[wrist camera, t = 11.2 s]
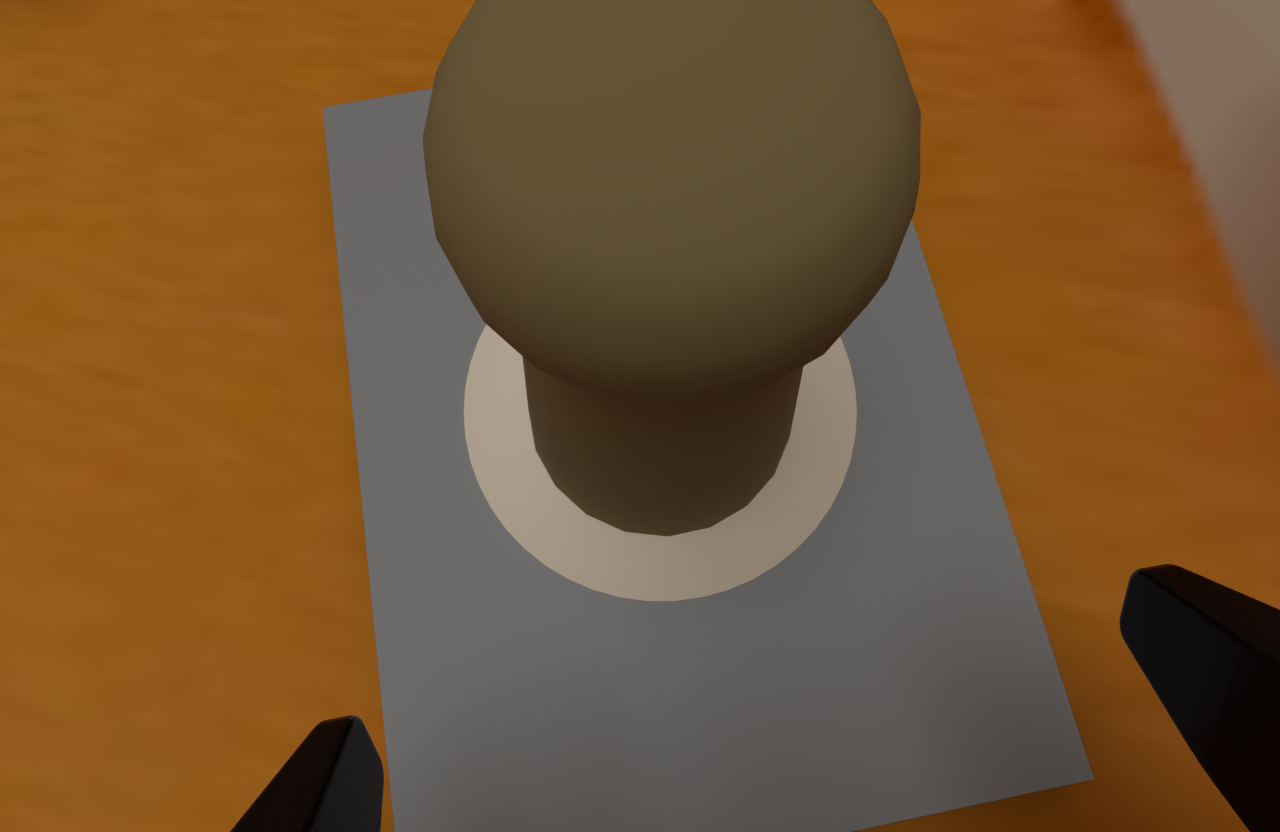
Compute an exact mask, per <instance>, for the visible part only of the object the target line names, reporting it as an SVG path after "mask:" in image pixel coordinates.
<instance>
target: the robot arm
mask: <svg viewBox="0 0 1280 832" xmlns="http://www.w3.org/2000/svg"><path fill="white" fill-rule="evenodd" d="M1120 630H1121V634H1122V636H1123V639H1124V641H1125V643H1126V645H1127V646H1128V648H1129V649H1130V651H1131V653H1132V654H1133V656H1134V658H1135V659H1136V661H1137V663H1138V664H1139V666H1140V667H1141V669H1142V671H1143V672H1144V674H1145V676H1146V677H1147V679H1148V681H1149V682H1150V684H1151V686H1152V687H1153V689H1154V690H1155V692H1156V694H1157V695H1158V697H1159V699H1160V700H1161V702H1162V704H1163V705H1164V707H1165V708H1166V710H1167V712H1168V713H1169V715H1170V717H1171V718H1172V720H1173V722H1174V723H1175V725H1176V727H1177V728H1178V730H1179V731H1180V733H1181V735H1182V736H1183V738H1184V740H1185V741H1186V743H1187V744H1188V746H1189V748H1190V749H1191V751H1192V752H1193V754H1194V755H1195V757H1196V758H1197V760H1198V761H1199V763H1200V764H1201V766H1202V767H1203V769H1204V770H1205V771H1206V773H1207V774H1208V776H1209V777H1210V778H1211V780H1212V781H1213V783H1214V784H1215V785H1216V787H1217V788H1218V789H1219V791H1220V792H1221V793H1222V795H1223V796H1224V797H1225V799H1226V800H1227V802H1228V803H1229V804H1230V806H1231V807H1232V808H1233V810H1234V811H1235V812H1236V814H1237V815H1238V816H1239V818H1240V819H1241V820H1242V822H1243V823H1244V824H1245V826H1246V827H1247V828H1248V830H1249V831H1250V832H1280V610H1279V609H1277V608H1274V607H1272V606H1270V605H1268V604H1265V603H1263V602H1261V601H1258V600H1256V599H1254V598H1251V597H1249V596H1247V595H1244V594H1242V593H1240V592H1237V591H1235V590H1233V589H1230V588H1228V587H1226V586H1223V585H1221V584H1219V583H1217V582H1214V581H1212V580H1210V579H1207V578H1205V577H1203V576H1200V575H1198V574H1196V573H1193V572H1191V571H1189V570H1186V569H1184V568H1182V567H1179V566H1176V565H1172V564H1164V565H1158V566H1152V567H1147V568H1142V569H1138V570H1136V571H1135V572H1134V573H1133V574H1132V575H1131V577H1130V579H1129V583H1128V587H1127V591H1126V595H1125V599H1124V603H1123V607H1122V611H1121V615H1120ZM383 785H384V773H383V766H382V762H381V759H380V757H379V755H378V752H377V750H376V748H375V746H374V744H373V742H372V740H371V738H370V736H369V734H368V732H367V730H366V727H365V725H364V723H363V722H362V720H361V719H360V718H359V717H357V716H353V715H350V716H345V717H340V718H334V719H329V720H325V721H322V722H320V723H319V724H318V725H317V726H316V727H315V728H314V729H313V730H312V731H311V732H310V734H309V735H308V736H307V737H306V739H305V740H304V741H303V742H302V743H301V745H300V746H299V747H298V748H297V750H296V751H295V752H294V753H293V755H292V756H291V757H290V758H289V760H288V761H287V762H286V763H285V764H284V766H283V767H282V768H281V769H280V771H279V772H278V773H277V774H276V776H275V777H274V778H273V779H272V781H271V782H270V783H269V784H268V785H267V787H266V788H265V789H264V790H263V792H262V793H261V794H260V795H259V797H258V798H257V799H256V800H255V802H254V803H253V804H252V805H251V806H250V808H249V809H248V810H247V811H246V813H245V814H244V815H243V816H242V818H241V819H240V820H239V821H238V822H237V824H236V825H235V826H234V827H233V829H232V830H231V831H230V832H380V829H381V814H382V800H383Z"/></svg>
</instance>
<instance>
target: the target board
mask: <svg viewBox="0 0 1280 832" xmlns="http://www.w3.org/2000/svg"><path fill="white" fill-rule="evenodd" d="M432 90H433V88H432V89H426V90H420V91H415V92H409V93H403V94H398V95H392V96H386V97H381V98H375V99H369V100H364V101H358V102H352V103H346V104H341V105H335V106H329V107H324V108H323V116H324V126H325V136H326V146H327V156H328V167H329V177H330V187H331V197H332V207H333V217H334V227H335V237H336V247H337V257H338V267H339V277H340V287H341V297H342V307H343V317H344V327H345V338H346V348H347V358H348V368H349V378H350V388H351V398H352V408H353V418H354V428H355V438H356V448H357V458H358V468H359V478H360V488H361V498H362V509H363V519H364V529H365V539H366V549H367V559H368V569H369V579H370V589H371V599H372V609H373V619H374V629H375V639H376V649H377V659H378V669H379V680H380V690H381V700H382V710H383V720H384V730H385V740H386V750H387V760H388V770H389V780H390V790H391V800H392V810H393V820H394V830H395V832H852V831H857V830H862V829H866V828H871V827H876V826H880V825H885V824H889V823H894V822H899V821H903V820H908V819H913V818H917V817H922V816H926V815H931V814H936V813H940V812H945V811H950V810H954V809H959V808H963V807H968V806H973V805H977V804H982V803H987V802H991V801H996V800H1000V799H1005V798H1010V797H1014V796H1019V795H1023V794H1028V793H1033V792H1037V791H1042V790H1047V789H1051V788H1056V787H1060V786H1065V785H1070V784H1074V783H1079V782H1084V781H1088V780H1093V779H1094V777H1093V773H1092V770H1091V767H1090V764H1089V761H1088V758H1087V755H1086V752H1085V749H1084V746H1083V743H1082V740H1081V737H1080V734H1079V731H1078V727H1077V724H1076V721H1075V718H1074V715H1073V712H1072V709H1071V706H1070V703H1069V700H1068V697H1067V694H1066V691H1065V688H1064V685H1063V681H1062V678H1061V675H1060V672H1059V669H1058V666H1057V663H1056V660H1055V657H1054V654H1053V651H1052V648H1051V645H1050V642H1049V638H1048V635H1047V632H1046V629H1045V626H1044V623H1043V620H1042V617H1041V614H1040V611H1039V608H1038V605H1037V602H1036V599H1035V596H1034V592H1033V589H1032V586H1031V583H1030V580H1029V577H1028V574H1027V571H1026V568H1025V565H1024V562H1023V559H1022V556H1021V553H1020V549H1019V546H1018V543H1017V540H1016V537H1015V534H1014V531H1013V528H1012V525H1011V522H1010V519H1009V516H1008V513H1007V510H1006V507H1005V503H1004V500H1003V497H1002V494H1001V491H1000V488H999V485H998V482H997V479H996V476H995V473H994V470H993V467H992V464H991V461H990V457H989V454H988V451H987V448H986V445H985V442H984V439H983V436H982V433H981V430H980V427H979V424H978V421H977V418H976V414H975V411H974V408H973V405H972V402H971V399H970V396H969V393H968V390H967V387H966V384H965V381H964V378H963V375H962V372H961V368H960V365H959V362H958V359H957V356H956V353H955V350H954V347H953V344H952V341H951V338H950V335H949V332H948V329H947V326H946V322H945V319H944V316H943V313H942V310H941V307H940V304H939V301H938V298H937V295H936V292H935V289H934V286H933V283H932V279H931V276H930V273H929V270H928V267H927V264H926V261H925V258H924V255H923V252H922V249H921V246H920V243H919V240H918V237H917V233H916V230H915V227H914V224H913V221H912V219H911V222H910V224H909V227H908V229H907V232H906V234H905V237H904V239H903V242H902V244H901V247H900V249H899V252H898V254H897V257H896V260H895V262H894V265H893V267H892V270H891V272H890V275H889V277H888V279H887V281H886V282H885V283H884V285H883V286H882V287H881V289H880V290H879V291H878V293H877V294H876V295H875V297H874V298H873V299H872V301H871V302H870V303H869V304H868V305H867V307H866V308H865V309H864V310H863V311H862V312H861V313H860V314H859V316H858V317H857V318H856V319H855V320H854V321H853V322H852V323H851V325H850V326H849V327H848V328H847V329H846V330H845V331H844V332H843V334H842V335H841V336H840V337H839V338H838V339H837V340H836V341H835V343H834V344H833V345H832V346H831V347H830V348H829V349H828V350H827V352H826V353H825V354H824V355H822V356H821V357H819V358H817V359H815V360H813V361H812V362H810V363H808V364H806V365H805V366H804V367H803V372H802V377H801V382H800V387H799V392H798V397H797V402H796V408H795V413H794V418H793V423H792V428H791V433H790V437H789V440H788V442H787V445H786V447H785V450H784V452H783V455H782V457H781V460H780V462H779V464H778V467H777V469H776V472H775V474H774V476H773V477H772V478H771V479H770V480H769V481H768V482H767V484H766V485H765V486H764V487H763V488H762V489H761V491H760V492H759V493H758V494H757V495H756V496H755V497H754V499H753V500H752V501H751V502H750V503H749V504H748V505H747V506H746V507H744V508H743V509H741V510H739V511H738V512H736V513H734V514H732V515H731V516H729V517H727V518H726V519H724V520H722V521H721V522H719V523H717V524H715V525H714V526H712V527H710V528H706V529H701V530H696V531H692V532H687V533H682V534H678V535H673V536H659V535H649V534H640V533H631V532H624V531H622V530H620V529H618V528H615V527H613V526H611V525H609V524H606V523H604V522H602V521H600V520H598V519H595V518H593V517H591V516H589V515H586V514H585V513H584V512H583V511H582V510H581V509H580V508H579V507H578V506H576V505H575V504H574V503H573V502H572V501H571V500H570V499H569V498H568V497H567V496H566V495H565V494H563V493H562V492H561V491H560V490H559V489H558V488H557V487H556V486H555V485H554V483H553V481H552V479H551V477H550V476H549V474H548V472H547V470H546V468H545V466H544V465H543V463H542V461H541V459H540V457H539V456H538V454H537V452H536V450H535V445H534V439H533V433H532V428H531V422H530V416H529V411H528V402H527V393H526V384H525V375H524V366H523V357H522V355H521V354H519V353H518V352H517V351H516V350H515V349H514V348H513V347H512V346H510V345H509V344H508V343H507V342H506V341H505V340H504V339H503V338H501V337H500V336H499V335H498V334H497V333H496V332H495V331H493V330H492V329H491V328H490V327H489V326H488V325H487V324H486V323H484V321H483V320H482V318H481V316H480V315H479V313H478V311H477V310H476V308H475V307H474V305H473V303H472V302H471V300H470V298H469V296H468V295H467V293H466V291H465V289H464V287H463V286H462V284H461V282H460V280H459V279H458V277H457V275H456V273H455V271H454V270H453V268H452V266H451V264H450V262H449V261H448V259H447V257H446V255H445V253H444V252H443V250H442V248H441V246H440V244H439V243H438V241H437V239H436V236H435V230H434V223H433V216H432V210H431V203H430V197H429V190H428V184H427V177H426V171H425V160H424V149H423V133H424V128H425V123H426V118H427V114H428V109H429V104H430V99H431V95H432Z"/></svg>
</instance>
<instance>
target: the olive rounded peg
mask: <svg viewBox="0 0 1280 832" xmlns="http://www.w3.org/2000/svg"><path fill="white" fill-rule="evenodd" d="M920 116H921V111H920V108H919V105H918V103H917V100H916V97H915V94H914V91H913V89H912V86H911V83H910V80H909V78H908V75H907V72H906V69H905V66H904V64H903V61H902V58H901V55H900V53H899V50H898V47H897V45H896V42H895V39H894V37H893V34H892V32H891V29H890V27H889V24H888V22H887V20H886V18H885V17H884V16H883V15H882V13H881V12H880V11H879V10H878V9H877V7H876V6H875V5H874V4H873V2H872V1H871V0H476V2H475V3H474V5H473V6H472V8H471V10H470V11H469V13H468V15H467V16H466V18H465V20H464V21H463V23H462V25H461V26H460V28H459V29H458V31H457V33H456V34H455V36H454V38H453V39H452V41H451V43H450V45H449V47H448V49H447V51H446V53H445V55H444V57H443V59H442V61H441V63H440V65H439V67H438V69H437V71H436V76H435V80H434V85H433V90H432V95H431V99H430V104H429V109H428V114H427V118H426V123H425V128H424V133H423V149H424V160H425V171H426V177H427V184H428V190H429V197H430V203H431V210H432V216H433V223H434V230H435V236H436V239H437V241H438V243H439V244H440V246H441V248H442V250H443V252H444V253H445V255H446V257H447V259H448V261H449V262H450V264H451V266H452V268H453V270H454V271H455V273H456V275H457V277H458V279H459V280H460V282H461V284H462V286H463V287H464V289H465V291H466V293H467V295H468V296H469V298H470V300H471V302H472V303H473V305H474V307H475V308H476V310H477V311H478V313H479V315H480V316H481V318H482V320H483V321H484V323H486V324H487V325H488V326H489V327H490V328H491V329H492V330H493V331H495V332H496V333H497V334H498V335H499V336H500V337H501V338H503V339H504V340H505V341H506V342H507V343H508V344H509V345H510V346H512V347H513V348H514V349H515V350H516V351H517V352H518V353H519V354H521V355H522V357H523V366H524V375H525V384H526V393H527V402H528V411H529V416H530V422H531V428H532V433H533V439H534V445H535V450H536V452H537V454H538V456H539V457H540V459H541V461H542V463H543V465H544V466H545V468H546V470H547V472H548V474H549V476H550V477H551V479H552V481H553V483H554V485H555V486H556V487H557V488H558V489H559V490H560V491H561V492H562V493H563V494H565V495H566V496H567V497H568V498H569V499H570V500H571V501H572V502H573V503H574V504H575V505H576V506H578V507H579V508H580V509H581V510H582V511H583V512H584V513H585V514H586V515H589V516H591V517H593V518H595V519H598V520H600V521H602V522H604V523H606V524H609V525H611V526H613V527H615V528H618V529H620V530H622V531H624V532H631V533H640V534H649V535H659V536H673V535H678V534H682V533H687V532H692V531H696V530H701V529H706V528H710V527H712V526H714V525H715V524H717V523H719V522H721V521H722V520H724V519H726V518H727V517H729V516H731V515H732V514H734V513H736V512H738V511H739V510H741V509H743V508H744V507H746V506H747V505H748V504H749V503H750V502H751V501H752V500H753V499H754V497H755V496H756V495H757V494H758V493H759V492H760V491H761V489H762V488H763V487H764V486H765V485H766V484H767V482H768V481H769V480H770V479H771V478H772V477H773V476H774V474H775V472H776V469H777V467H778V464H779V462H780V460H781V457H782V455H783V452H784V450H785V447H786V445H787V442H788V440H789V437H790V433H791V428H792V423H793V418H794V413H795V408H796V402H797V397H798V392H799V387H800V382H801V377H802V372H803V367H804V366H805V365H806V364H808V363H810V362H812V361H813V360H815V359H817V358H819V357H821V356H822V355H824V354H825V353H826V352H827V350H828V349H829V348H830V347H831V346H832V345H833V344H834V343H835V341H836V340H837V339H838V338H839V337H840V336H841V335H842V334H843V332H844V331H845V330H846V329H847V328H848V327H849V326H850V325H851V323H852V322H853V321H854V320H855V319H856V318H857V317H858V316H859V314H860V313H861V312H862V311H863V310H864V309H865V308H866V307H867V305H868V304H869V303H870V302H871V301H872V299H873V298H874V297H875V295H876V294H877V293H878V291H879V290H880V289H881V287H882V286H883V285H884V283H885V282H886V281H887V279H888V277H889V275H890V272H891V270H892V267H893V265H894V262H895V260H896V257H897V254H898V252H899V249H900V247H901V244H902V242H903V239H904V237H905V234H906V232H907V229H908V227H909V224H910V222H911V219H912V217H913V214H914V210H915V204H916V198H917V193H918V187H919V181H920Z"/></svg>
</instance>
